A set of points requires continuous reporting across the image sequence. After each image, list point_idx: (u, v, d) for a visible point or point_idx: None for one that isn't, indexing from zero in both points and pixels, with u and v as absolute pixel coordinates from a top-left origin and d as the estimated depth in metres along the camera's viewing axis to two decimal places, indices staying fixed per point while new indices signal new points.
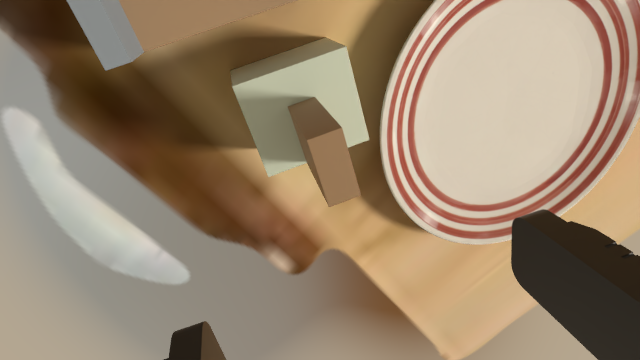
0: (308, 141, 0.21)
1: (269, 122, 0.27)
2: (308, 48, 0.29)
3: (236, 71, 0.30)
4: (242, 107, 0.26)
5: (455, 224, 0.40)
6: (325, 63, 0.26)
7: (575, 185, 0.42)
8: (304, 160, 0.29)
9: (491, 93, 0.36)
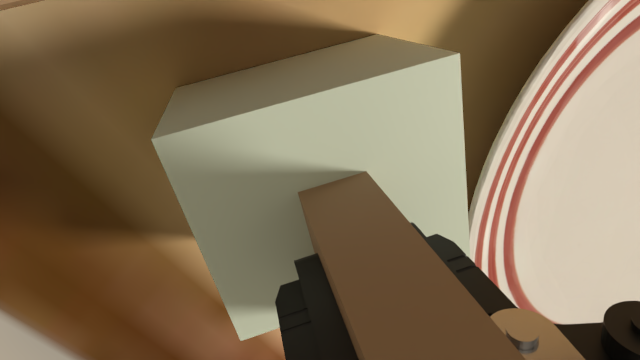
0: None
1: (251, 227, 0.11)
2: (348, 53, 0.13)
3: (185, 92, 0.14)
4: (180, 192, 0.10)
5: None
6: (402, 92, 0.10)
7: None
8: None
9: None
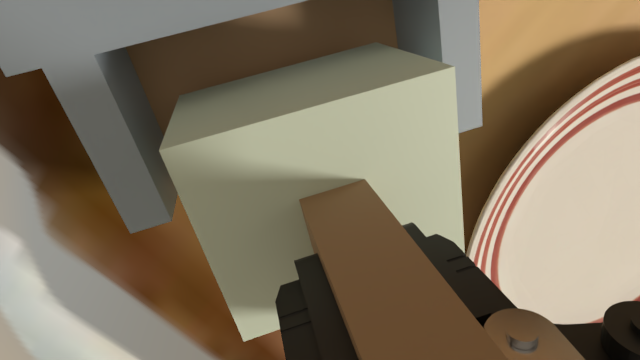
0: None
1: (254, 233, 0.11)
2: (347, 62, 0.14)
3: (189, 100, 0.14)
4: (186, 200, 0.10)
5: None
6: (400, 104, 0.11)
7: None
8: None
9: (590, 207, 0.30)
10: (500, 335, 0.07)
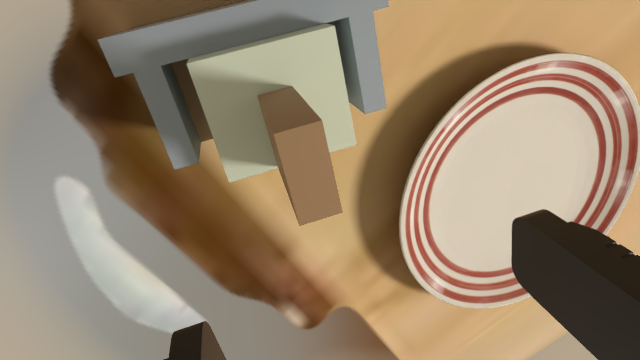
0: (275, 135, 0.15)
1: (233, 113, 0.22)
2: None
3: None
4: (199, 92, 0.21)
5: (459, 289, 0.43)
6: (307, 45, 0.21)
7: None
8: (275, 164, 0.24)
9: (499, 175, 0.40)
10: None
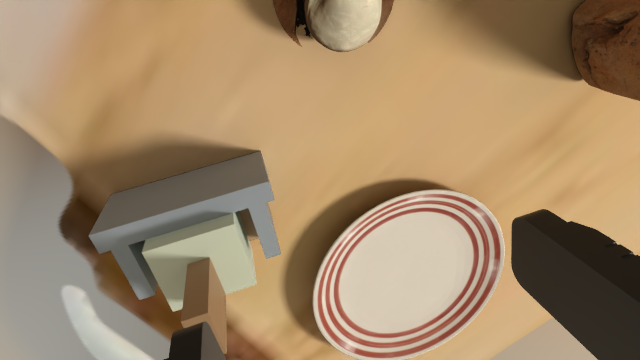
0: (182, 322, 0.29)
1: (173, 275, 0.35)
2: None
3: None
4: (150, 265, 0.34)
5: (368, 348, 0.56)
6: (217, 235, 0.34)
7: (457, 321, 0.58)
8: None
9: (393, 266, 0.53)
10: None
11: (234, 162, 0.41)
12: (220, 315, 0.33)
